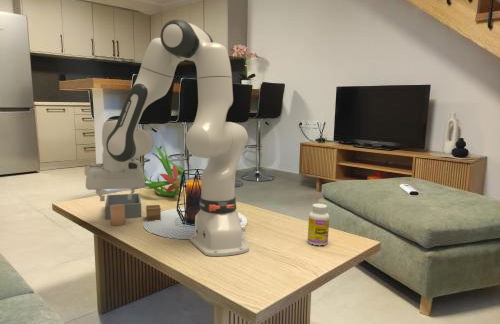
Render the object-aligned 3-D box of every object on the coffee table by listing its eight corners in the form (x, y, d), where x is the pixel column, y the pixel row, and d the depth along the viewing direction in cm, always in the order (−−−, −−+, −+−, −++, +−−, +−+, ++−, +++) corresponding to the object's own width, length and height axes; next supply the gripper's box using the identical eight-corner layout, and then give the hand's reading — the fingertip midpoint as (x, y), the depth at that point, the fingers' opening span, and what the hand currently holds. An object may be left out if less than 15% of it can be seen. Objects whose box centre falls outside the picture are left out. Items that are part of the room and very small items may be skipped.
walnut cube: (160, 220, 142) (160, 208, 141) (147, 221, 140) (147, 209, 140) (159, 216, 147) (159, 204, 146) (146, 217, 145) (146, 205, 144)
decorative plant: (164, 216, 165) (133, 200, 186) (208, 196, 181) (175, 184, 202) (154, 161, 157) (123, 151, 178) (201, 146, 173) (167, 138, 194)
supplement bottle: (312, 247, 118) (314, 208, 116) (304, 240, 125) (306, 203, 123) (331, 245, 120) (333, 207, 118) (322, 238, 126) (324, 202, 124)
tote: (141, 217, 145) (141, 203, 144) (105, 219, 141) (105, 205, 140) (139, 205, 161) (139, 193, 161) (107, 207, 157) (107, 195, 156)
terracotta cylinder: (125, 225, 135) (124, 207, 134) (110, 226, 133) (110, 208, 132) (125, 221, 140) (124, 203, 139) (111, 222, 138) (110, 204, 137)
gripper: (83, 165, 127) (84, 204, 129) (144, 164, 134) (144, 201, 136) (85, 162, 133) (86, 199, 135) (144, 161, 139) (144, 196, 142)
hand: (116, 200), depth 136 cm, fingers open, 8 cm apart
